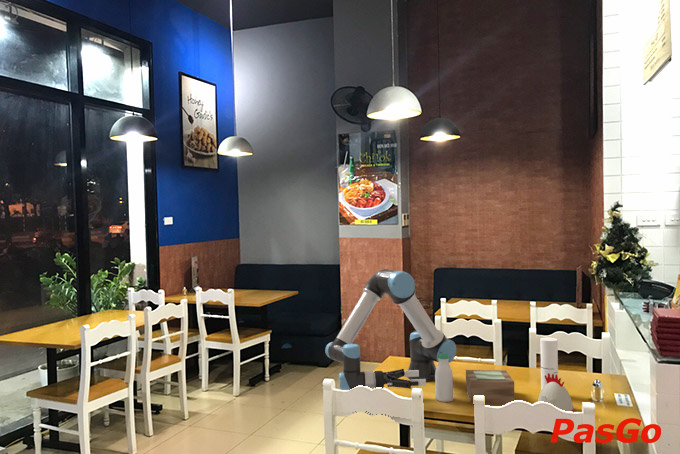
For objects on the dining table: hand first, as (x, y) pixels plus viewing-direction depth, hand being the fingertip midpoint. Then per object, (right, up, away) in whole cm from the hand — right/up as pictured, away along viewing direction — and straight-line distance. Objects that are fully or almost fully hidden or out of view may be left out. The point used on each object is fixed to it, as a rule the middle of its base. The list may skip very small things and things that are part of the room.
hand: (422, 377), depth 241 cm
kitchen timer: (+53, -9, -15) cm, 56 cm away
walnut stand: (+30, -9, +2) cm, 32 cm away
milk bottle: (+10, -10, +1) cm, 14 cm away
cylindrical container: (+57, -9, +3) cm, 58 cm away
